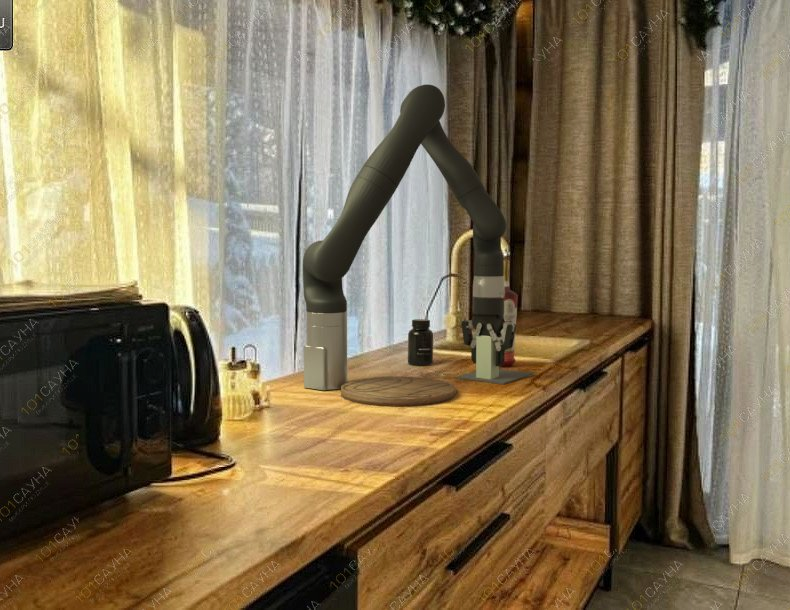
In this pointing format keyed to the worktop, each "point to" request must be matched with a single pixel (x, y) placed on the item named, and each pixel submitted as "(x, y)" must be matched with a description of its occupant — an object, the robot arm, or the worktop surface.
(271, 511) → the worktop surface
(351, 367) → the worktop surface
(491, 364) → the block
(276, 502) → the worktop surface
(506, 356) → the red sauce bottle
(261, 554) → the worktop surface
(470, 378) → the mat
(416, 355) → the supplement bottle
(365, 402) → the trivet
